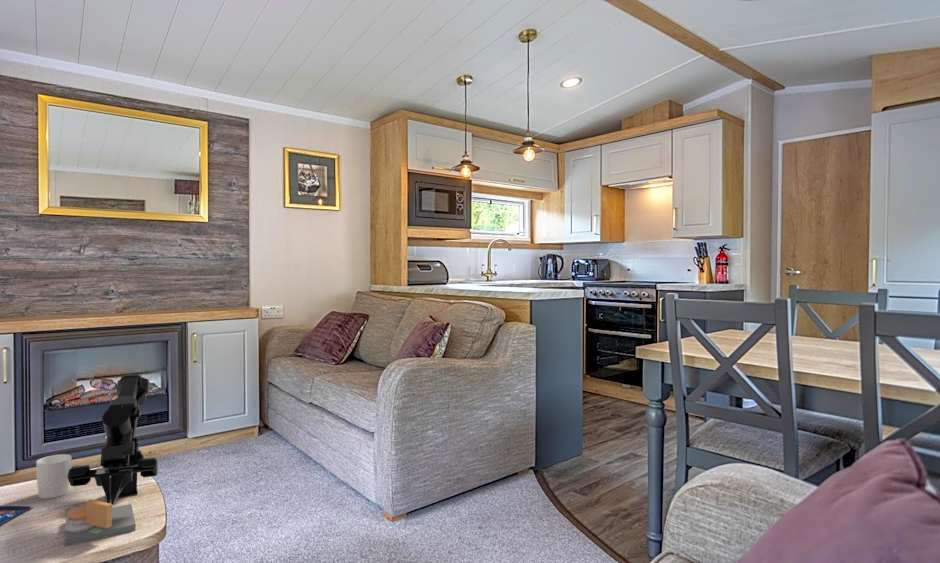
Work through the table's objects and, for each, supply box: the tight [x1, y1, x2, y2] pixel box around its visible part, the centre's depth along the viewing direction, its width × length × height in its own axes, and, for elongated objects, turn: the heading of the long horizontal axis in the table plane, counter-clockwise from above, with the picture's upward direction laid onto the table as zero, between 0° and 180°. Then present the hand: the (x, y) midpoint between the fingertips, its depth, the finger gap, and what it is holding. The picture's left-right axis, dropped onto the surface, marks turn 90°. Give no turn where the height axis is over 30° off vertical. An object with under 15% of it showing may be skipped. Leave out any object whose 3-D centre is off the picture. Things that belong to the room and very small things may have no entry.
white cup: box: [35, 453, 73, 500], centre depth 148 cm, size 8×8×10 cm
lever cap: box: [66, 499, 113, 528], centre depth 125 cm, size 12×5×5 cm, turn 72°
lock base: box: [64, 503, 137, 547], centre depth 130 cm, size 14×14×4 cm
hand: (110, 504), depth 129 cm, fingers closed
